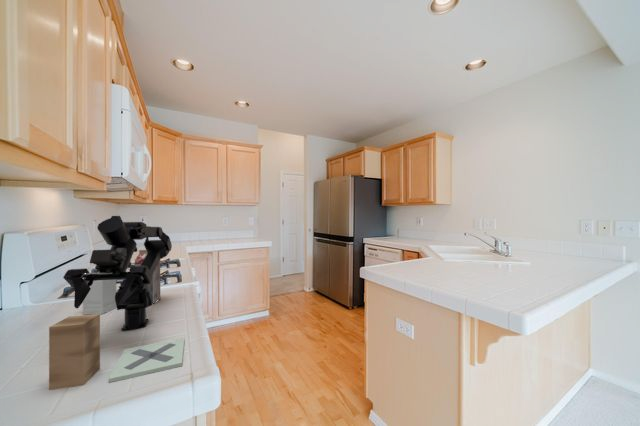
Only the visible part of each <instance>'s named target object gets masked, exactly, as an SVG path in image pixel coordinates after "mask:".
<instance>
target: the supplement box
mask: <svg viewBox="0 0 640 426" xmlns="http://www.w3.org/2000/svg"><path fill="white" fill-rule="evenodd" d="M89 287H90V288H91V290H90V291H89V293H88V294H87V296H86V298H85V299H84V301H83V302H82V315H92V314H100V315H104V314H106V313H108V312H110V311H112V310H114V308H115V309H117V306H116V302H115V294H116V292H117V280H97V281H93V284H92V285H91V286H89ZM111 309H112V310H111ZM109 310H110V311H109ZM107 311H108V312H107ZM105 312H106V313H105Z"/></svg>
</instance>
